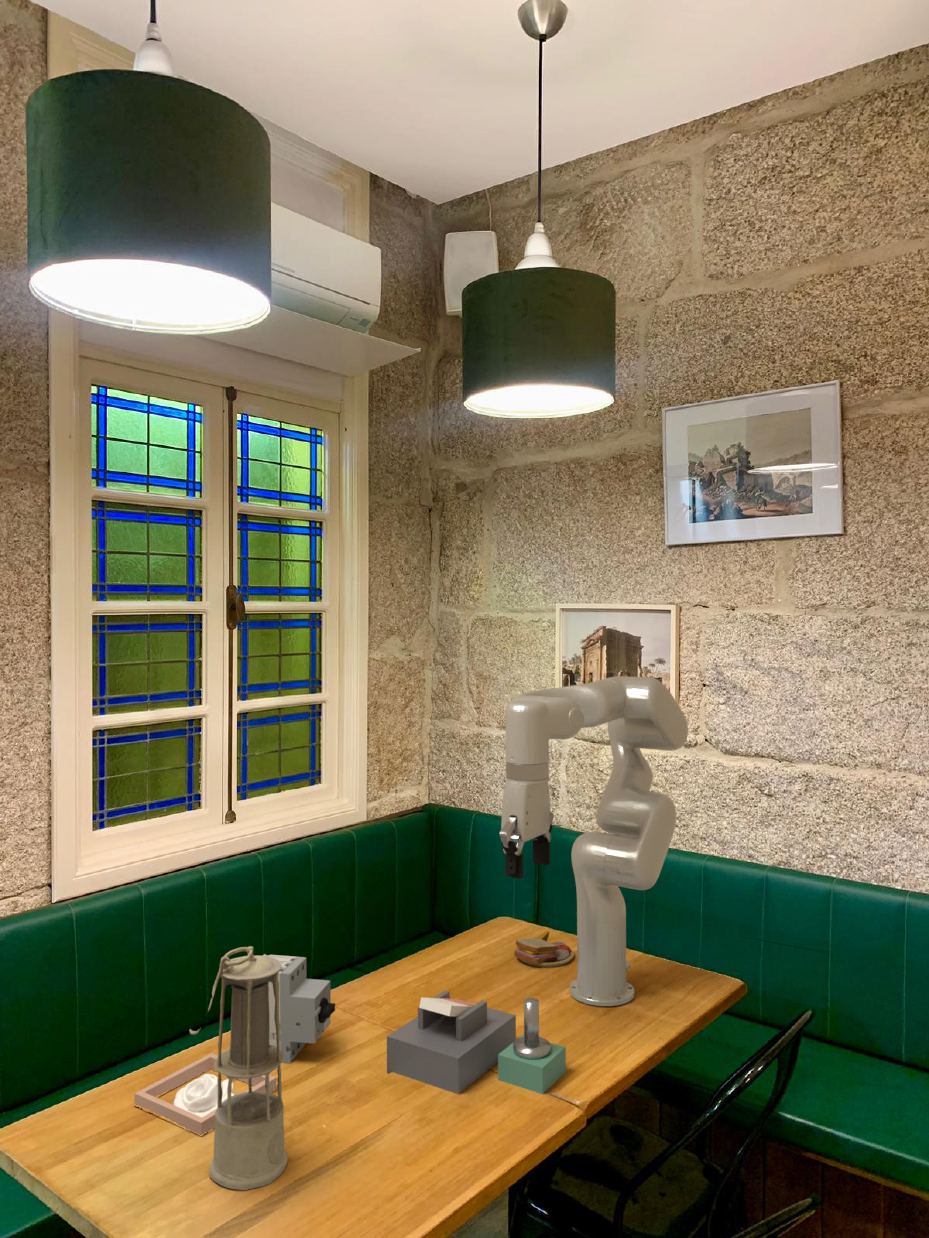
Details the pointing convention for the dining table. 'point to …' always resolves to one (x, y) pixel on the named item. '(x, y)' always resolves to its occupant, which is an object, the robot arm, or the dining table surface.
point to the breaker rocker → (445, 1006)
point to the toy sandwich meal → (543, 951)
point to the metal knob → (531, 1034)
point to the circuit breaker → (298, 1007)
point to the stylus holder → (532, 1069)
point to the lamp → (248, 1077)
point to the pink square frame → (169, 1111)
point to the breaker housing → (450, 1045)
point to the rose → (201, 1095)
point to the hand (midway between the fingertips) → (528, 870)
